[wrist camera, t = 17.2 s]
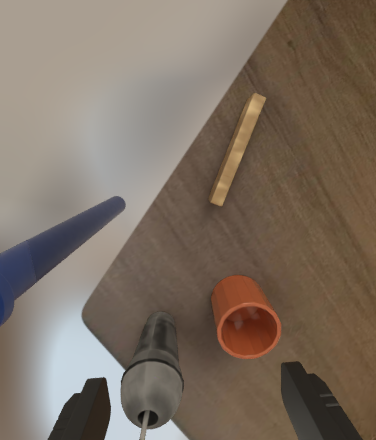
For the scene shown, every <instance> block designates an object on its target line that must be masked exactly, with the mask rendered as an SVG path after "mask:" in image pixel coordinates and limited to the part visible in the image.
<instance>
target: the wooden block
mask: <svg viewBox="0 0 376 440" xmlns="http://www.w3.org/2000/svg"><path fill="white" fill-rule="evenodd" d="M265 100H266V98H265V97H263V96H261V95H258V94H256V93H254V94H252V95H251V96H250V97H249V98H248V99H247V101H246V104H245V106H244V109H243V111H242V114H241V116H240V119H239V121H238V124H237V126H236V129H235V132H234V134H233V137H232V139H231V142H230V144H229V147H228V149H227V152H226V154H225V157H224V160H223V162H222V165H221V167H220V170H219V172H218V175H217V177H216V180H215V182H214V185H213V187H212V190H211V193H210V195H209V198H208V199H209V201H210V202H211V203H213V204H215V205H218V206H221V207H222V205H223V203H224V200H225V198H226V195H227V193H228V190H229V188H230V185H231V183H232V181H233V178H234V176H235V173H236V171H237V168H238V166H239V163H240V161H241V158H242V156H243V154H244V151H245V149H246V146H247V144H248V141H249V139H250V136H251V134H252V131H253V129H254V127H255V124H256V122H257V119H258V117H259V114H260V112H261V109H262V107H263V105H264V102H265Z"/></svg>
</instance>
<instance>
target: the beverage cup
mask: <svg viewBox="0 0 376 440" xmlns="http://www.w3.org/2000/svg"><path fill="white" fill-rule="evenodd" d="M183 389H184V380H183V378H182V374H181V369H180V366H179V359H178V347H177V336H176V327H175V321H174V319H173V317H172V316H171V315H170V314H168V313H166V312H156V313H153V314H152V315H150V317H149V318H148V320H147V322H146V324H145V327H144V329H143V332H142V334H141V337H140V340H139V342H138V345H137V348H136V350H135V353H134V356H133V358H132V360H131V361H130V363H129V365H128V367H127V369H126V371H125V372H124V374H123V376H122V380H121V404H122V407H123V410H124V412H125V414H126V416H127V418H128V419H129V420H130V421H131V422H132V423H133V424H134V425H136V426H138V427H139V428H142V429H141V434H140V439H139V440H145V435H146V429H155V428H158V427H161V426H162V425H164V424H166V423H167V422H168V421H169V420H170V419H171V418H172V417H173V415H174V414H175V413H176V411H177V409H178V406H179V404H180V401H181V398H182V392H183Z"/></svg>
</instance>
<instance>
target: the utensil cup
mask: <svg viewBox="0 0 376 440" xmlns="http://www.w3.org/2000/svg"><path fill="white" fill-rule="evenodd" d="M211 305H212V312H213V317H214V322H215V327H216V333H217V338H218V341H219V343H220V344H221V346H222V348H223V349H224V350H225V351H226V352H228V353H229V354H230V355H232V356H234V357H238V358H241V359H252V358H258V357H260V356H262V355H265V354H267V353H268V352H269V351H270V350H271V349H272V348H274V347H275V346H276V344H277V342H278V340H279V338H280V335H281V323H280V320H279V318H278V316H277V314H276V312H275V311H274V309H273V307H272V306H271V304H270V303H269V301H268V299H267V298H266V296H265V294H264V293H263V291H262V289H261V288H260V286H259V285H258V284H257V283H256V282H255V281H254V280H253V279H251V278H249V277H247V276H243V275H233V276H229V277H226V278H224V279H223V280H221V281H220V282H219V283H218V284H217V285H216V286H215V288H214V289H213V292H212V295H211Z"/></svg>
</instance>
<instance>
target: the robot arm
mask: <svg viewBox="0 0 376 440" xmlns="http://www.w3.org/2000/svg"><path fill="white" fill-rule="evenodd" d="M281 393H282V399H283V403H284V406H285V408H286V411H287V413H288V415H289V418H290V420H291V422H292V425H293V427H294V429H295V432H296V434H297V436H298V439H299V440H363V439H362V438H361V436H360V435H359V433H358V432H357V430H356V429H355V427H354V426H353V424H352V423H351V421H350V420H349V418H348V417H347V415H346V414H345V412H344V411H343V409H342V408H341V406H339V403H338V401H337V400H336V398H335V397H334V396H333V394H332V392H331V391H330V389H329V388H328V386H327V385H326V383H325V382H324V381H323V380H321V379H320V378H319V377H318V376H317V375H315V374H314V373H313V374H307V373H306V371H305V369H304V368H303V366H302V364H301V363H300V362H299V361H296V362H285V363H282V364H281ZM110 413H111V405H110V399H109V393H108V387H107V381H106V378H104V377H103V378H91V379H87V381H86V383H85V385H84V387H83V390H82V392H81V393H75V394H74V395H73V396H72V397H71V398H70V399H69V400H68V401H67V402H66V403H65V405H64V407H63V409H62V411H61V413H60V415H59V418H58V420H57V421H56V423H55V426H54V427H53V431H52V432H51V434H50V436H49V438H48V440H104V439H105V435H106V431H107V428H108V424H109V421H110Z"/></svg>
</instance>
